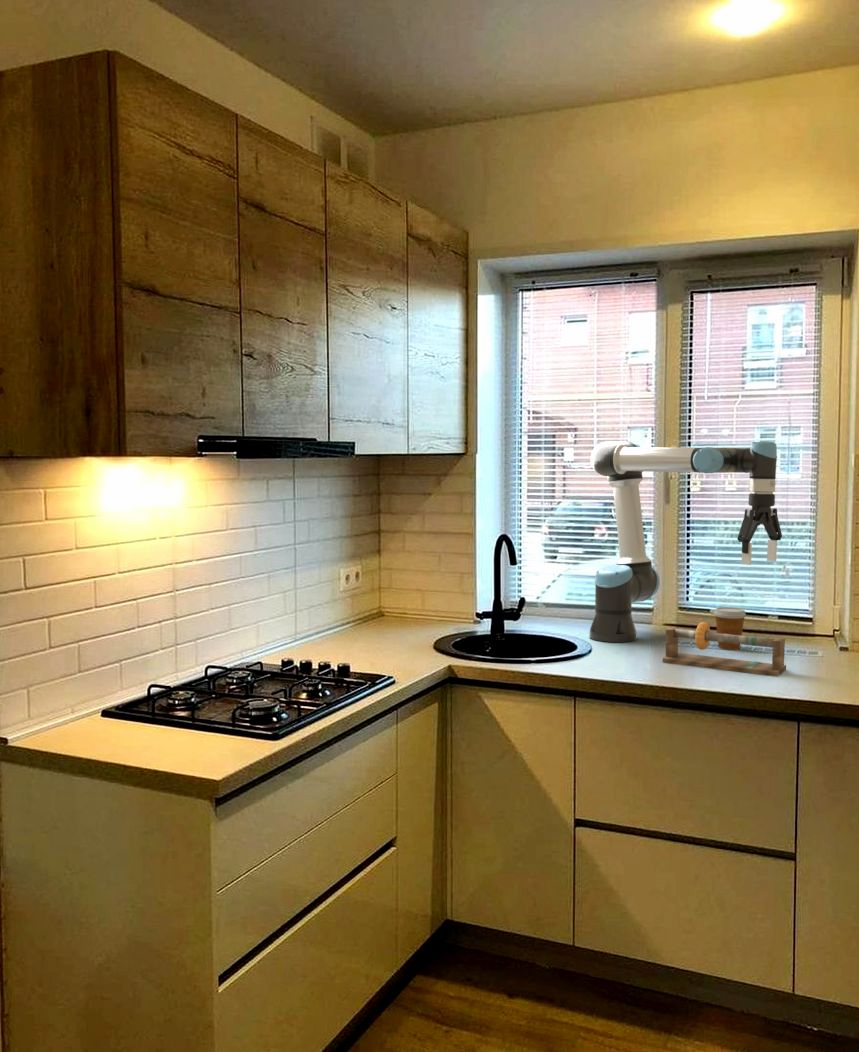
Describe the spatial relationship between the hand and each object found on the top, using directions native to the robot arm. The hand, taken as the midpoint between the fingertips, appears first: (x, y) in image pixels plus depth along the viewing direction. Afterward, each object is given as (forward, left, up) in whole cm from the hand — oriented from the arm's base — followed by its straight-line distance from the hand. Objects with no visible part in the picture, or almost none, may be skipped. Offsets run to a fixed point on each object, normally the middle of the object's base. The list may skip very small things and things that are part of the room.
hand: (759, 562), depth 286 cm
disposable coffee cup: (-8, 0, -27) cm, 29 cm away
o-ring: (-8, -27, -23) cm, 36 cm away
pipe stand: (-2, -27, -27) cm, 38 cm away
